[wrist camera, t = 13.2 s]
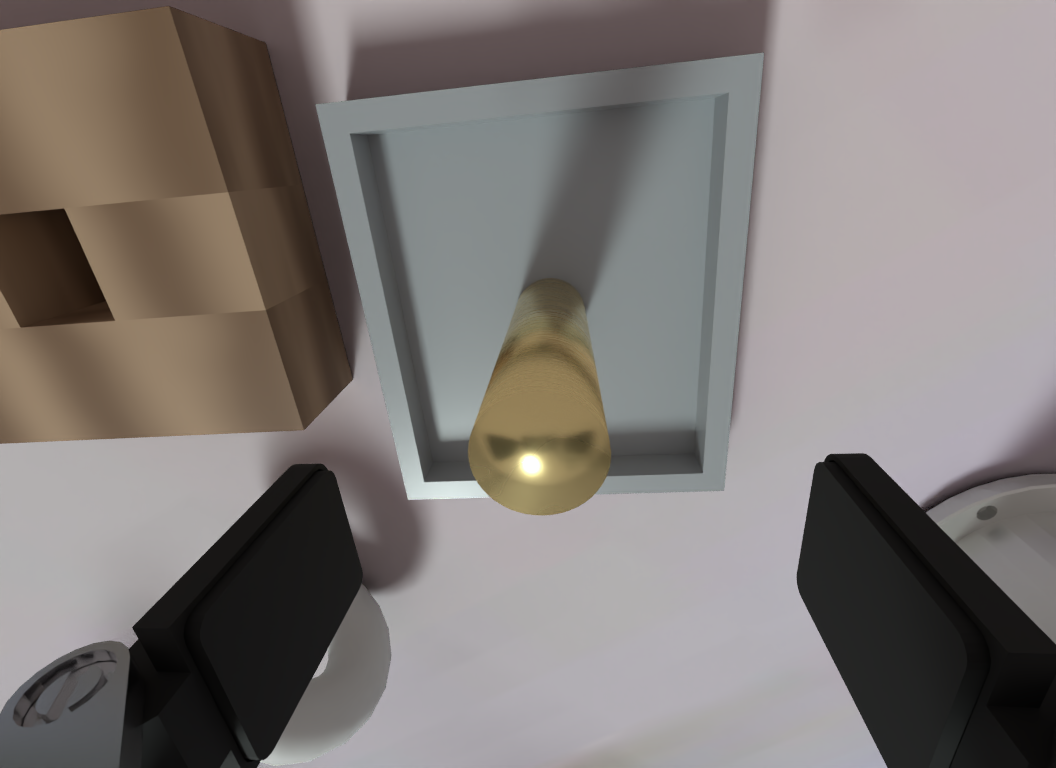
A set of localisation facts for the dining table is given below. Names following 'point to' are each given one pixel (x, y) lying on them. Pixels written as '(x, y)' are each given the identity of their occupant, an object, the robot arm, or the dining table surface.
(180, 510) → the dining table surface
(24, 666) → the dining table surface
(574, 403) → the pin
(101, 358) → the pin block
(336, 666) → the donut
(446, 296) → the tray
